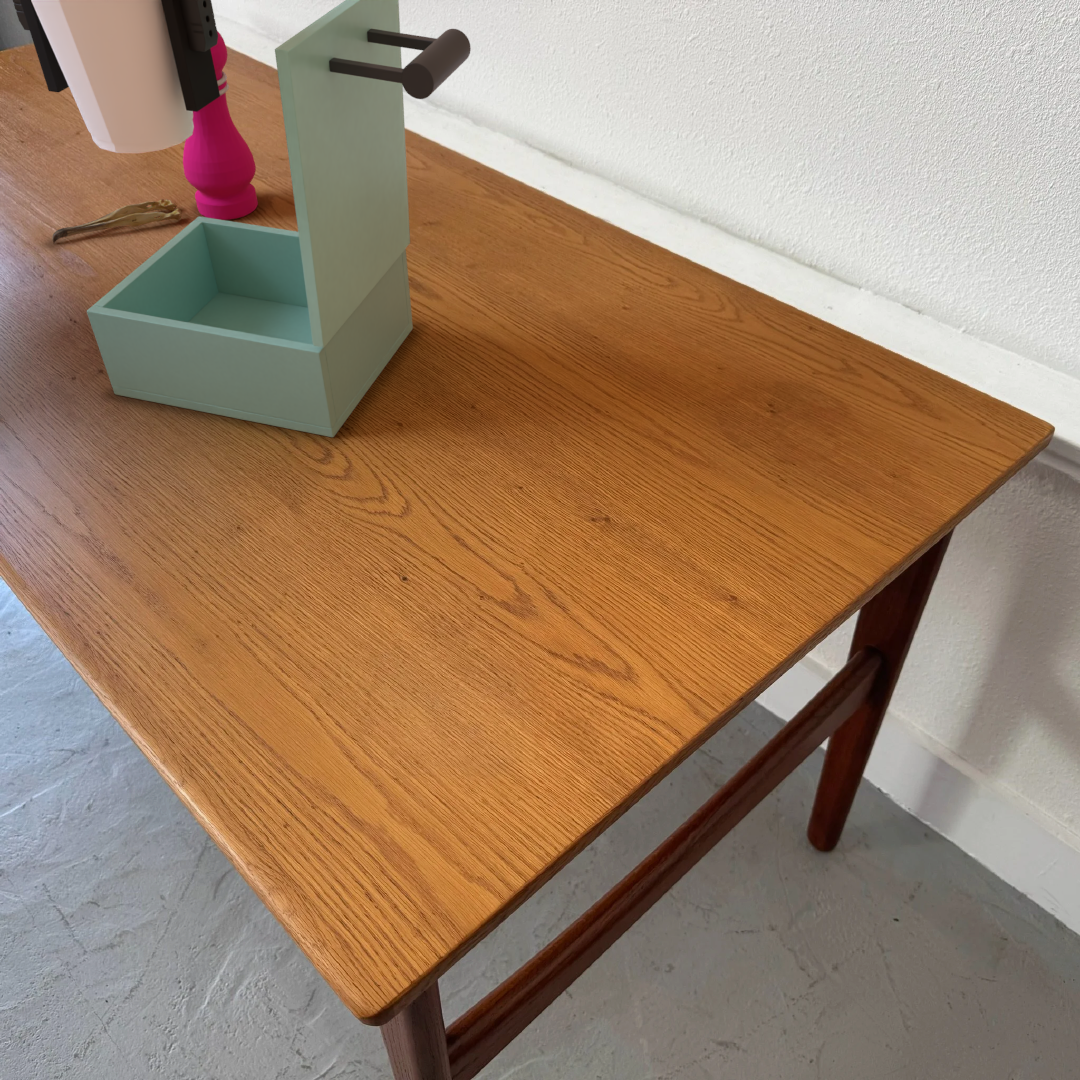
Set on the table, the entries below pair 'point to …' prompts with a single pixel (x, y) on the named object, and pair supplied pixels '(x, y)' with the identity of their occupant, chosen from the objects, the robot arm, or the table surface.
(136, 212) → the tongs
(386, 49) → the freezer lid
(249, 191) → the pepper mill
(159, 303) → the box
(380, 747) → the table surface
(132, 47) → the foam cup
